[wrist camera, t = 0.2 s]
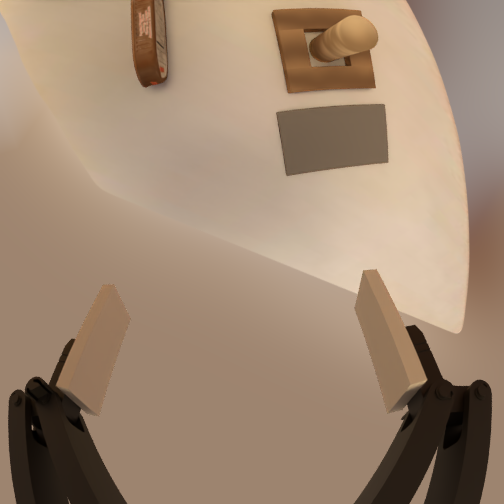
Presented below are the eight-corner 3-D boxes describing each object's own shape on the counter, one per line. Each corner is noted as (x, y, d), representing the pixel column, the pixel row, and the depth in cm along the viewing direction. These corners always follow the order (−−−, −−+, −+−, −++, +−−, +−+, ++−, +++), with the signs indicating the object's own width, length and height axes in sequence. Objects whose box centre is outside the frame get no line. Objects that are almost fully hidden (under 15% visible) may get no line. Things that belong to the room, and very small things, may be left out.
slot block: (271, 14, 26) (273, 10, 24) (355, 13, 25) (360, 10, 24) (288, 93, 32) (290, 92, 30) (369, 88, 31) (375, 88, 30)
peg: (306, 37, 28) (337, 14, 17) (334, 36, 27) (373, 17, 17) (312, 63, 30) (344, 49, 19) (339, 62, 30) (381, 51, 19)
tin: (146, -3, 23) (126, -23, 15) (168, -8, 23) (152, -31, 15) (151, 89, 30) (129, 87, 23) (174, 84, 30) (157, 80, 23)
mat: (276, 112, 33) (276, 112, 33) (383, 104, 33) (384, 104, 32) (286, 174, 38) (287, 175, 38) (386, 161, 37) (388, 162, 37)
